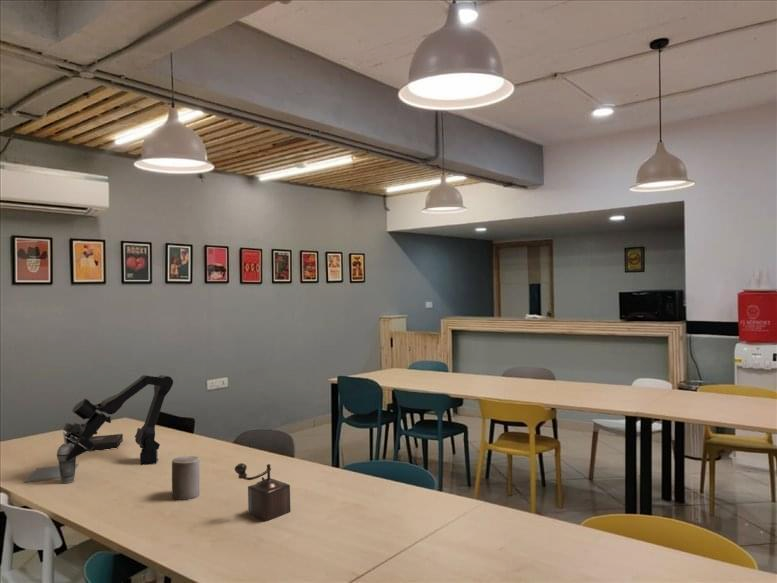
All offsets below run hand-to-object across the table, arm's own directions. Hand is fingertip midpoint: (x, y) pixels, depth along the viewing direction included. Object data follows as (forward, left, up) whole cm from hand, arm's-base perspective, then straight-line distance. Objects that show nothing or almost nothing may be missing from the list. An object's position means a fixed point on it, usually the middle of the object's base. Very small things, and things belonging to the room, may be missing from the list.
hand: (63, 458), depth 218 cm
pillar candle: (-50, +31, -10) cm, 60 cm away
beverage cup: (-1, -1, -10) cm, 10 cm away
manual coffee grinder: (-77, +58, -10) cm, 97 cm away
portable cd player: (0, -57, -10) cm, 58 cm away
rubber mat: (+9, -15, -10) cm, 20 cm away
